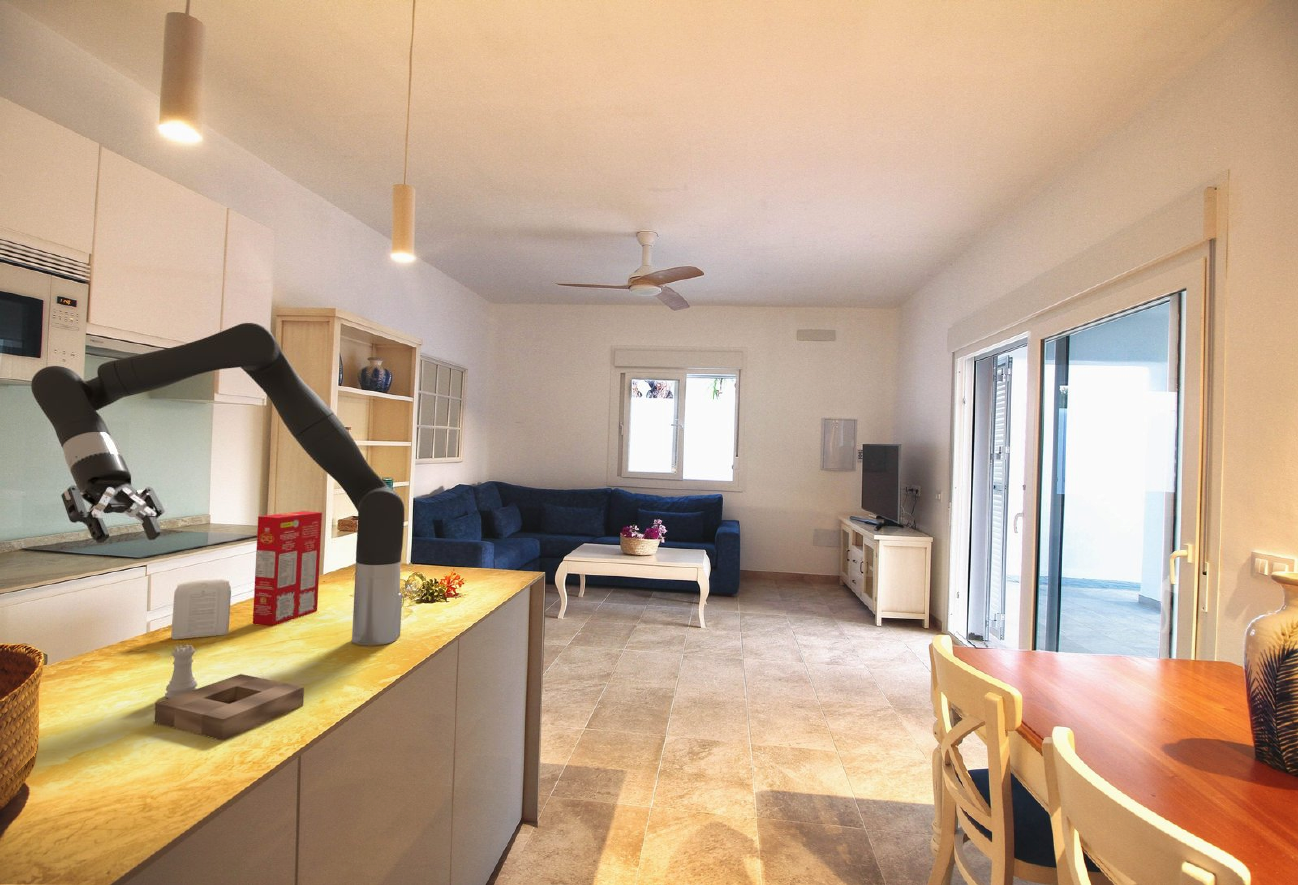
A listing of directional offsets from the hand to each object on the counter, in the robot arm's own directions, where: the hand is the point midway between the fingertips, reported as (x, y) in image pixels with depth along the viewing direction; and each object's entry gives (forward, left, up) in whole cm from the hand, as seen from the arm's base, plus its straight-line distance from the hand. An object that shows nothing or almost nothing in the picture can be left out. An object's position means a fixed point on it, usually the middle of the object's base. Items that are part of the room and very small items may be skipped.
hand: (130, 538), depth 112 cm
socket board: (+1, +28, -25) cm, 37 cm away
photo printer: (-25, -14, -25) cm, 38 cm away
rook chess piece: (-1, +14, -25) cm, 29 cm away
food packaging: (-44, -11, -25) cm, 52 cm away
